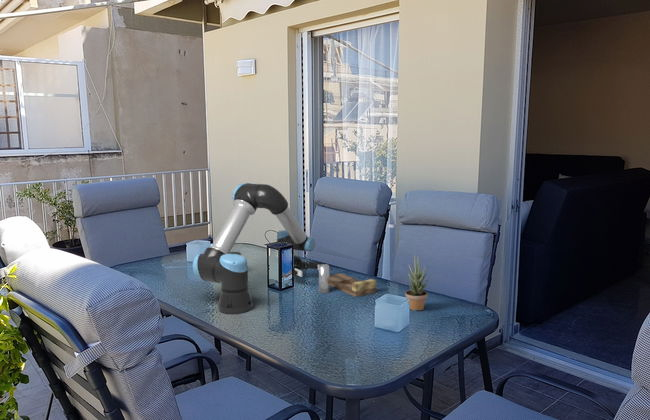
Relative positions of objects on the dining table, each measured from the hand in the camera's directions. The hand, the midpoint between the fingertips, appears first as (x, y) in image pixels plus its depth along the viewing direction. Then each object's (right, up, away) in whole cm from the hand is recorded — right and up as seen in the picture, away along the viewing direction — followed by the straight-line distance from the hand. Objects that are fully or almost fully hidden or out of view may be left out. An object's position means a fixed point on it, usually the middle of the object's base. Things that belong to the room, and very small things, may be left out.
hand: (313, 272), depth 258 cm
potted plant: (+45, -12, -32) cm, 57 cm away
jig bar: (+17, -7, 0) cm, 19 cm away
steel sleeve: (+5, -9, -7) cm, 12 cm away
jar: (-44, -5, +23) cm, 50 cm away
